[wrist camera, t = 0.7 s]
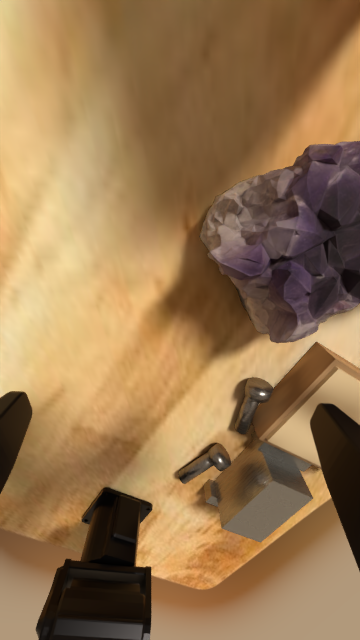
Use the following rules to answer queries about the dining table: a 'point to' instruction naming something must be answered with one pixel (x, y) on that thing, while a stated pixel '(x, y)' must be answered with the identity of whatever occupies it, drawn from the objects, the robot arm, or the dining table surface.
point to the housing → (259, 490)
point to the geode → (292, 241)
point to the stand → (307, 401)
